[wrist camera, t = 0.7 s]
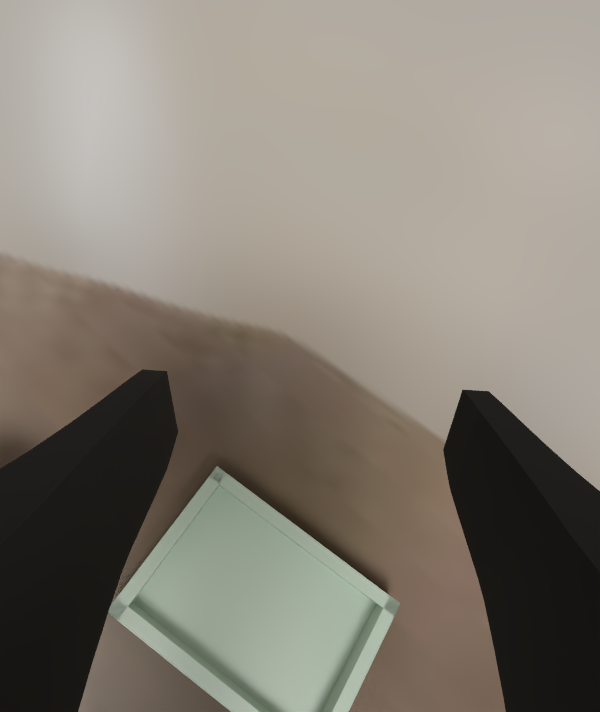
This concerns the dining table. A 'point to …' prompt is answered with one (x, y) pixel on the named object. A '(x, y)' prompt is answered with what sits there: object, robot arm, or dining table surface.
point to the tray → (255, 607)
